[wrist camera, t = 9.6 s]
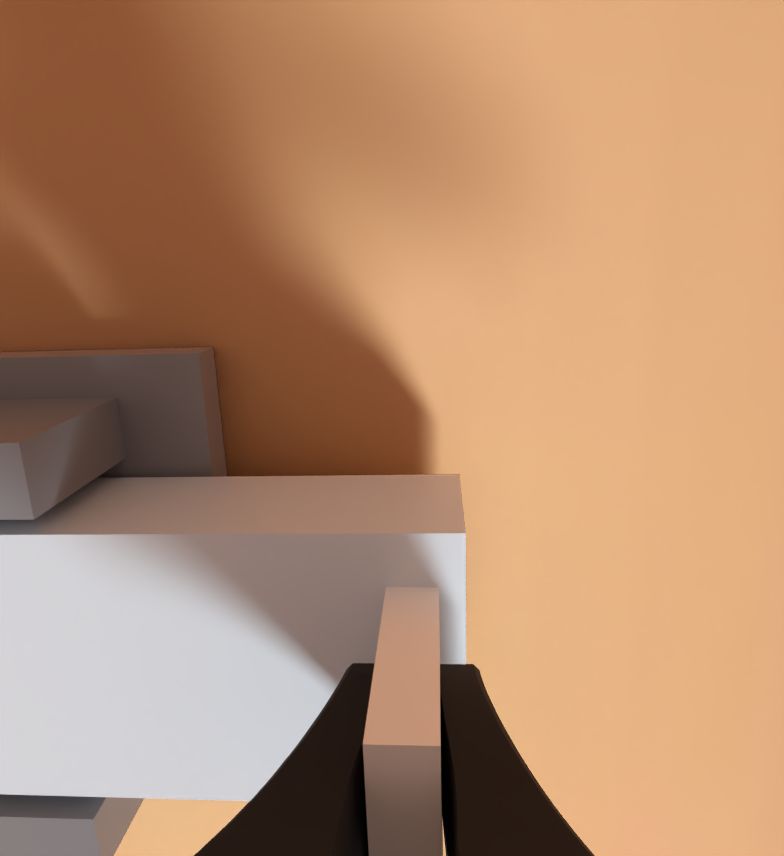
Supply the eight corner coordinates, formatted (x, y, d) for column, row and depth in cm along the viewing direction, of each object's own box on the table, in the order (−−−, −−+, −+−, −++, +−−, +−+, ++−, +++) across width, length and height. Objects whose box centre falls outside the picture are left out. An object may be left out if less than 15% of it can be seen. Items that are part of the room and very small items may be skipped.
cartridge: (460, 702, 16) (479, 1032, 10) (-22, 694, 17) (-325, 989, 10) (459, 474, 15) (480, 672, 8) (-74, 479, 16) (-474, 660, 9)
